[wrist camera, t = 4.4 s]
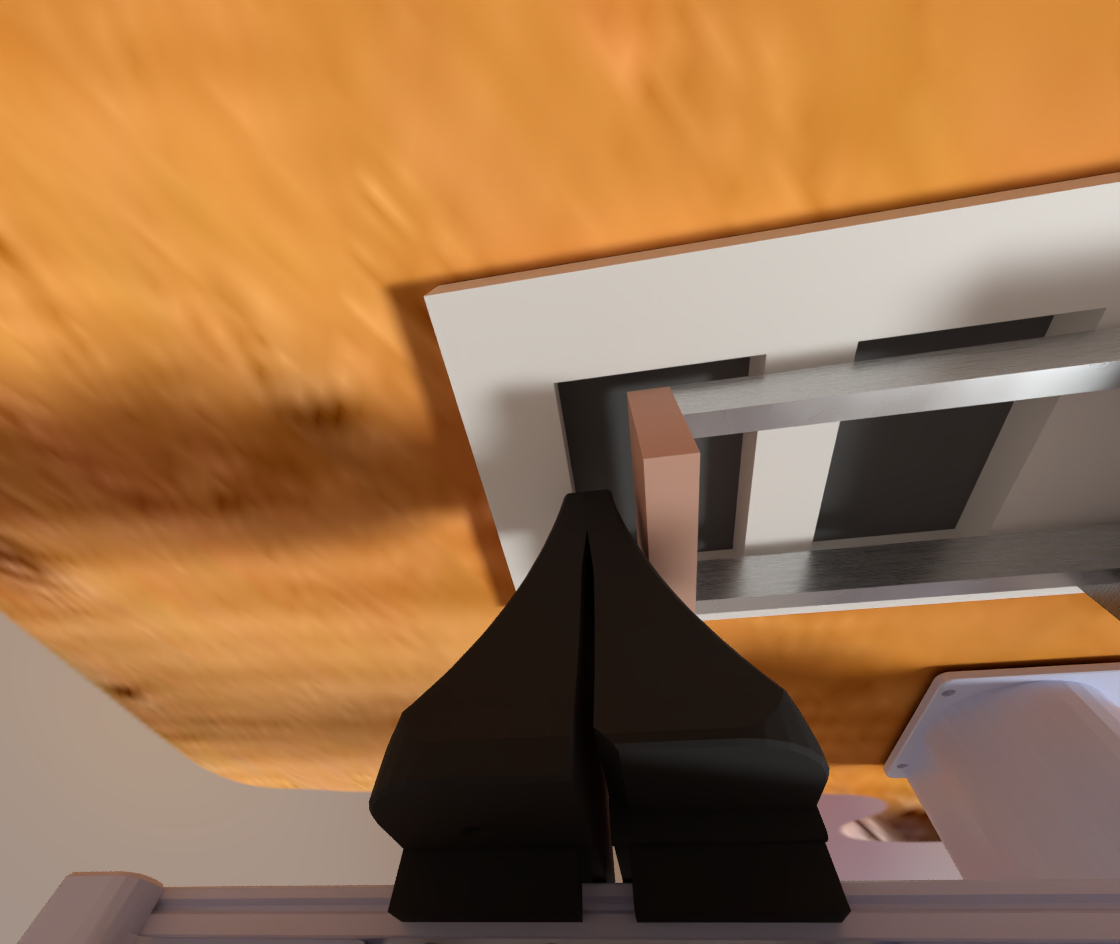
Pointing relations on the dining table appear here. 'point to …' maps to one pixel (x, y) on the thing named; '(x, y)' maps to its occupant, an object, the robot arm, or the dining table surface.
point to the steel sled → (847, 394)
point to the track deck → (797, 343)
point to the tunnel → (1105, 596)
